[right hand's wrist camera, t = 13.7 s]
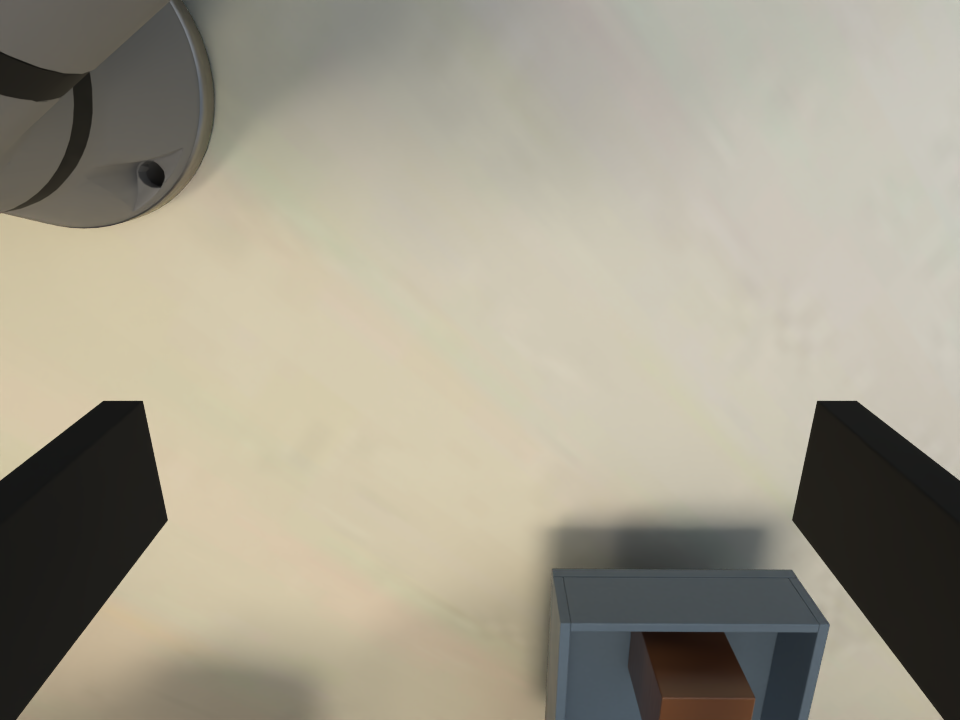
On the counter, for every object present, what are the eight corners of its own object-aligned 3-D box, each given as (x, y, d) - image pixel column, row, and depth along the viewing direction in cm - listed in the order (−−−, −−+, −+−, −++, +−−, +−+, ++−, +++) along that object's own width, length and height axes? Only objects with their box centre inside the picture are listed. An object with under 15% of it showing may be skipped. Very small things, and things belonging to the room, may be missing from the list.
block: (627, 666, 42) (653, 766, 36) (633, 605, 41) (662, 698, 34) (703, 667, 42) (743, 766, 36) (712, 606, 41) (756, 698, 34)
